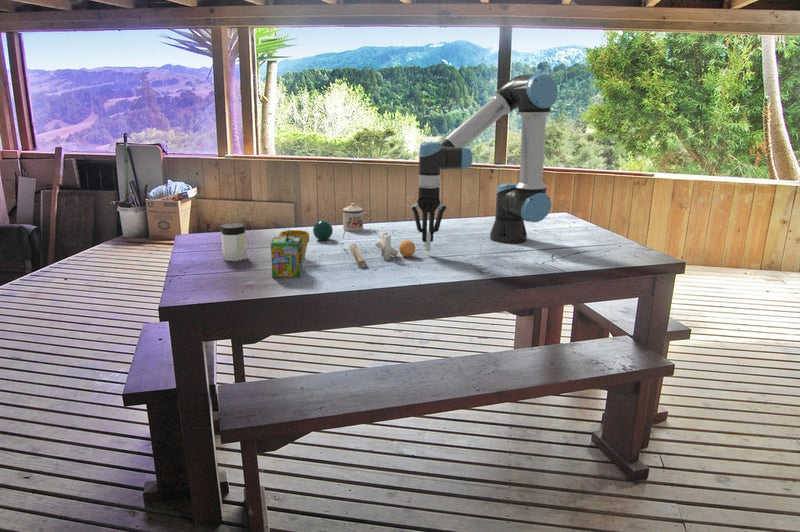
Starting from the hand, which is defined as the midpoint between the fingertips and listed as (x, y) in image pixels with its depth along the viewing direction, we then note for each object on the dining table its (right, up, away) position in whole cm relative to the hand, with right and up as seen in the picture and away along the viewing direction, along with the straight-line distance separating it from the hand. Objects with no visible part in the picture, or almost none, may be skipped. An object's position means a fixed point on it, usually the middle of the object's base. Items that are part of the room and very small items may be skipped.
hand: (427, 250), depth 210 cm
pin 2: (-15, -3, -5) cm, 16 cm away
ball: (-7, +1, -2) cm, 8 cm away
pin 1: (-16, -2, 0) cm, 16 cm away
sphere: (-41, +5, +22) cm, 47 cm away
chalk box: (-47, -9, -24) cm, 53 cm away
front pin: (-11, -1, -2) cm, 12 cm away
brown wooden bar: (-26, -3, -5) cm, 26 cm away
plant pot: (-47, -4, -7) cm, 48 cm away
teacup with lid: (-29, +10, +42) cm, 52 cm away
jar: (-69, -3, -7) cm, 69 cm away
